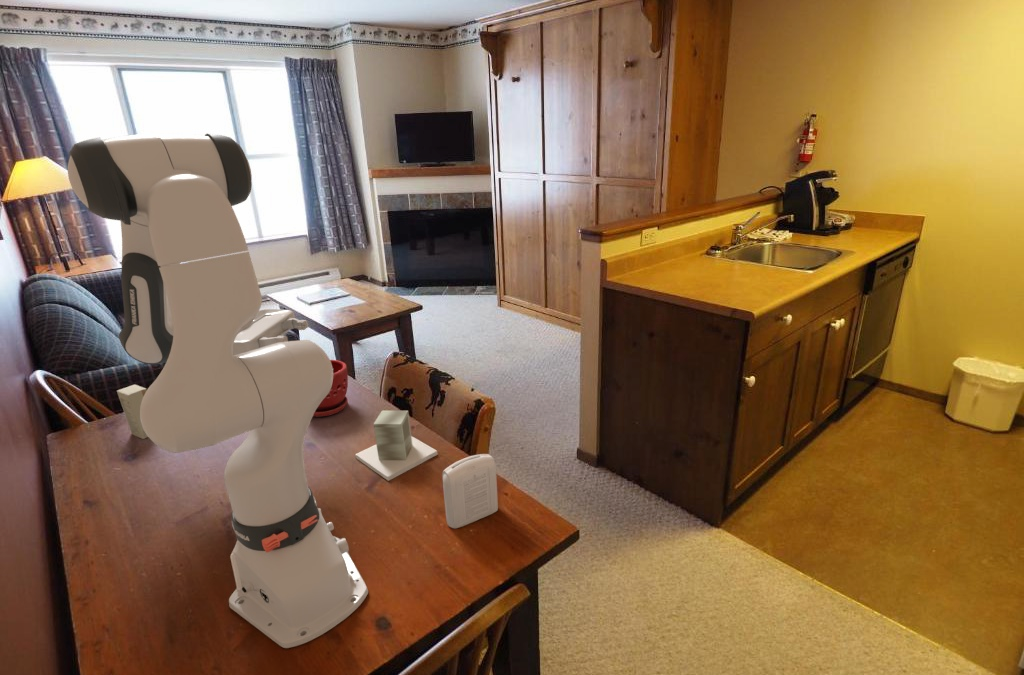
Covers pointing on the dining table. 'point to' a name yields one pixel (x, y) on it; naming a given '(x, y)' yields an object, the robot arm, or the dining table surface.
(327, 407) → the plant pot
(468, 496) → the photo printer
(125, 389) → the skincare box
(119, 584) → the dining table surface
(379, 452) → the sage recessed panel box
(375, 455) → the post stand
